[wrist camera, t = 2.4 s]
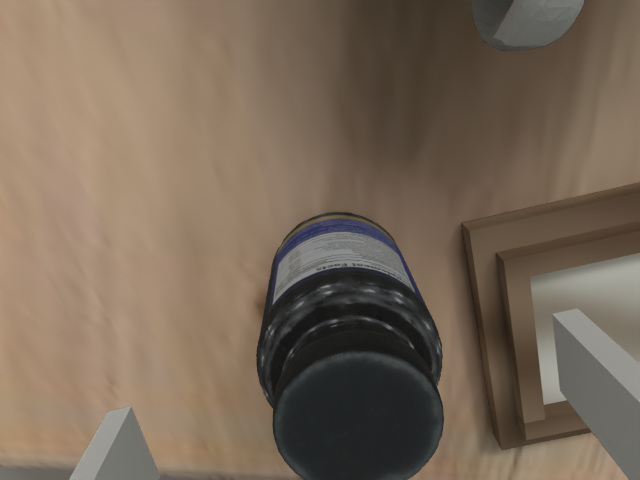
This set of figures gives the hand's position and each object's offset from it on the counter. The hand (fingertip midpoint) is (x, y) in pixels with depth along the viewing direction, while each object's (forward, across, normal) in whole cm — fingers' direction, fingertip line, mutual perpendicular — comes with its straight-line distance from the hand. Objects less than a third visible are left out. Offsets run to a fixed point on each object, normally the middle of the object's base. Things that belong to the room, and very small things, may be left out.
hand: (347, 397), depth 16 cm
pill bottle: (+9, 0, 0) cm, 9 cm away
